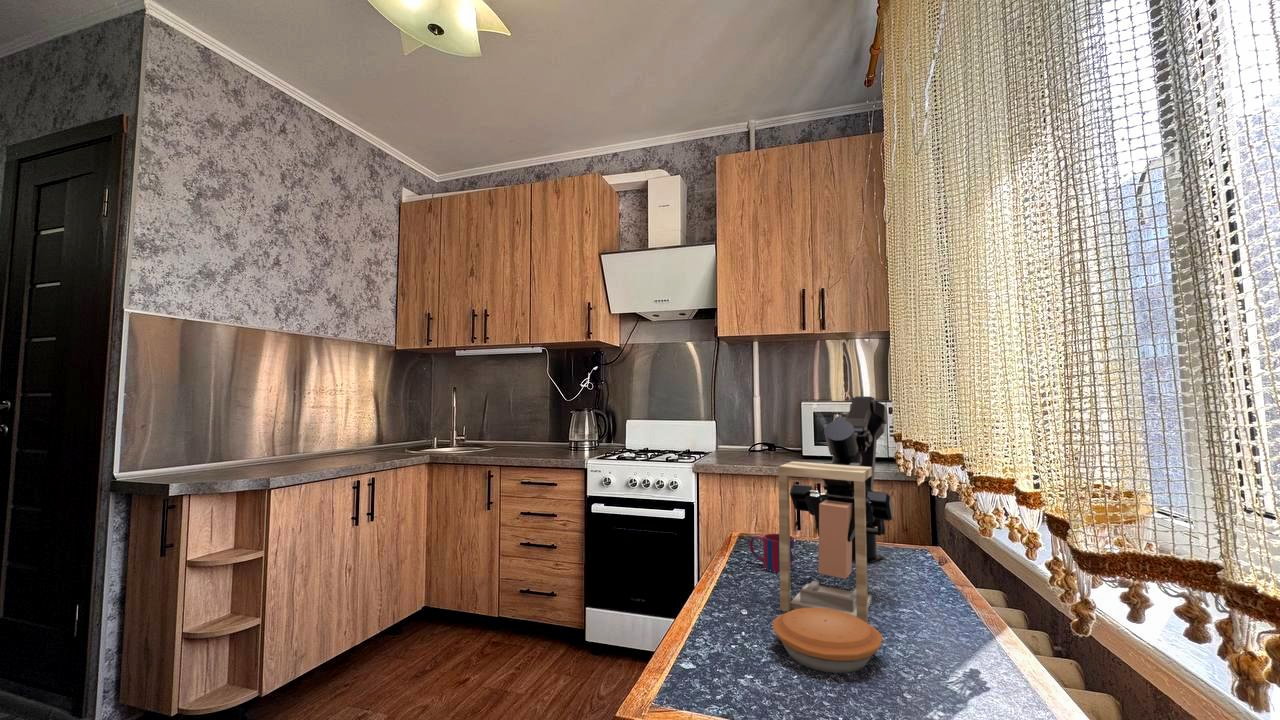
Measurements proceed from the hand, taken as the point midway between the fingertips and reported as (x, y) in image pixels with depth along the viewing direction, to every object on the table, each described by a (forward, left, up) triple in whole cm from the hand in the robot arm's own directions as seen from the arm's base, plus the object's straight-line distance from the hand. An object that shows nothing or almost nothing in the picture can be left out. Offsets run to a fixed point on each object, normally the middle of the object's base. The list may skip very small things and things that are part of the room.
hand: (833, 538), depth 104 cm
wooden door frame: (+3, +1, -11) cm, 12 cm away
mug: (-7, -20, -12) cm, 24 cm away
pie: (+21, +10, -12) cm, 26 cm away
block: (-1, -1, -7) cm, 7 cm away
